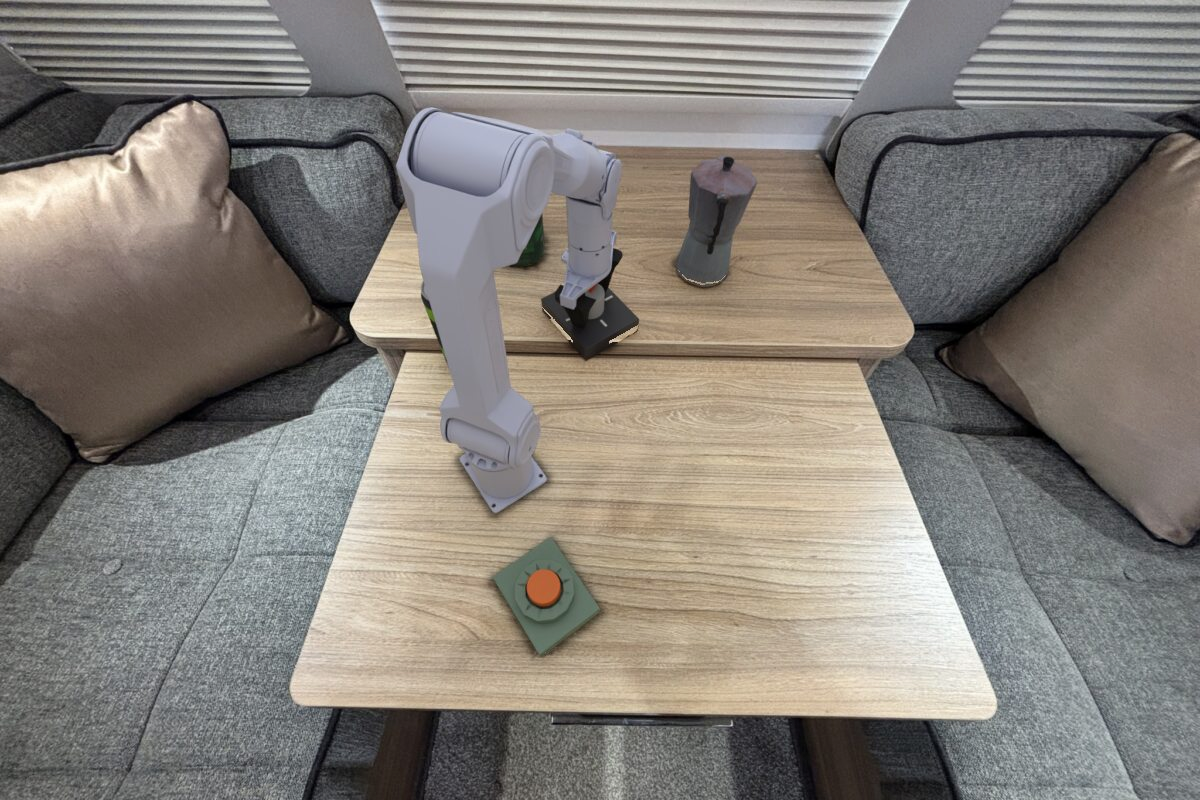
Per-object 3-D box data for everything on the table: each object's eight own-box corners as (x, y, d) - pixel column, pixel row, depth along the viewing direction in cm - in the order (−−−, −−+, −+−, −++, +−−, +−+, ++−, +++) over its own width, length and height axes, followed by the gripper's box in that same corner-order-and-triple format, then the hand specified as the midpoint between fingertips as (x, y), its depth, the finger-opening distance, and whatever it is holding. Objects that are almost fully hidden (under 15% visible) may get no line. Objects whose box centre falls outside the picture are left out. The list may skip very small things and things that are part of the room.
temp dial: (596, 323, 80) (597, 306, 76) (570, 313, 80) (569, 296, 77) (608, 303, 82) (609, 285, 78) (582, 294, 83) (582, 276, 79)
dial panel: (542, 311, 85) (540, 298, 82) (593, 285, 88) (593, 271, 85) (585, 361, 80) (585, 348, 77) (638, 331, 83) (639, 318, 80)
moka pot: (729, 242, 94) (760, 134, 77) (732, 308, 86) (767, 203, 69) (675, 238, 94) (694, 129, 77) (673, 303, 86) (693, 197, 69)
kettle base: (495, 581, 62) (489, 572, 59) (552, 542, 65) (550, 531, 62) (540, 657, 58) (537, 653, 55) (600, 612, 61) (600, 605, 57)
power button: (522, 585, 59) (520, 582, 57) (549, 566, 60) (548, 562, 58) (539, 613, 57) (538, 610, 56) (567, 593, 58) (566, 590, 57)
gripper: (585, 195, 74) (585, 268, 85) (536, 263, 67) (544, 332, 78) (632, 210, 72) (626, 282, 84) (587, 280, 65) (587, 348, 77)
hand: (589, 307), depth 81 cm, fingers open, 7 cm apart
